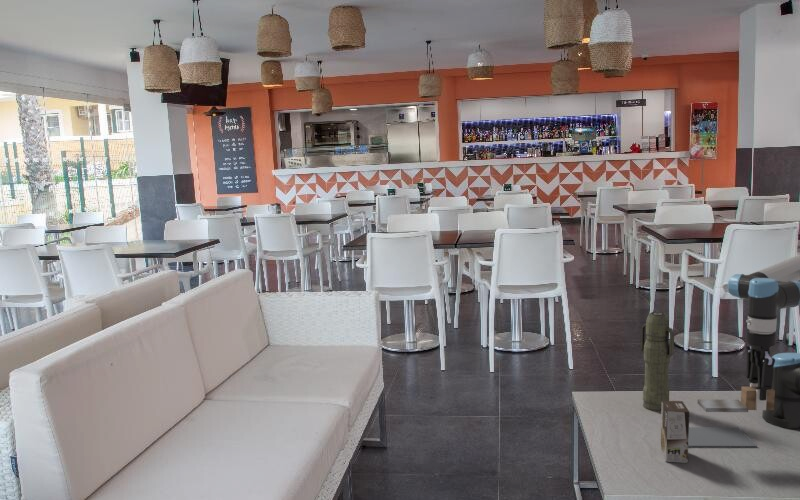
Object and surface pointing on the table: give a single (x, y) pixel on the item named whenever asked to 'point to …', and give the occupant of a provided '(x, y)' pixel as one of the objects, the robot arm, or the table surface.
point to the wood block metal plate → (738, 402)
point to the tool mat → (718, 437)
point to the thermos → (656, 359)
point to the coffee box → (674, 431)
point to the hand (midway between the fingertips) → (757, 406)
